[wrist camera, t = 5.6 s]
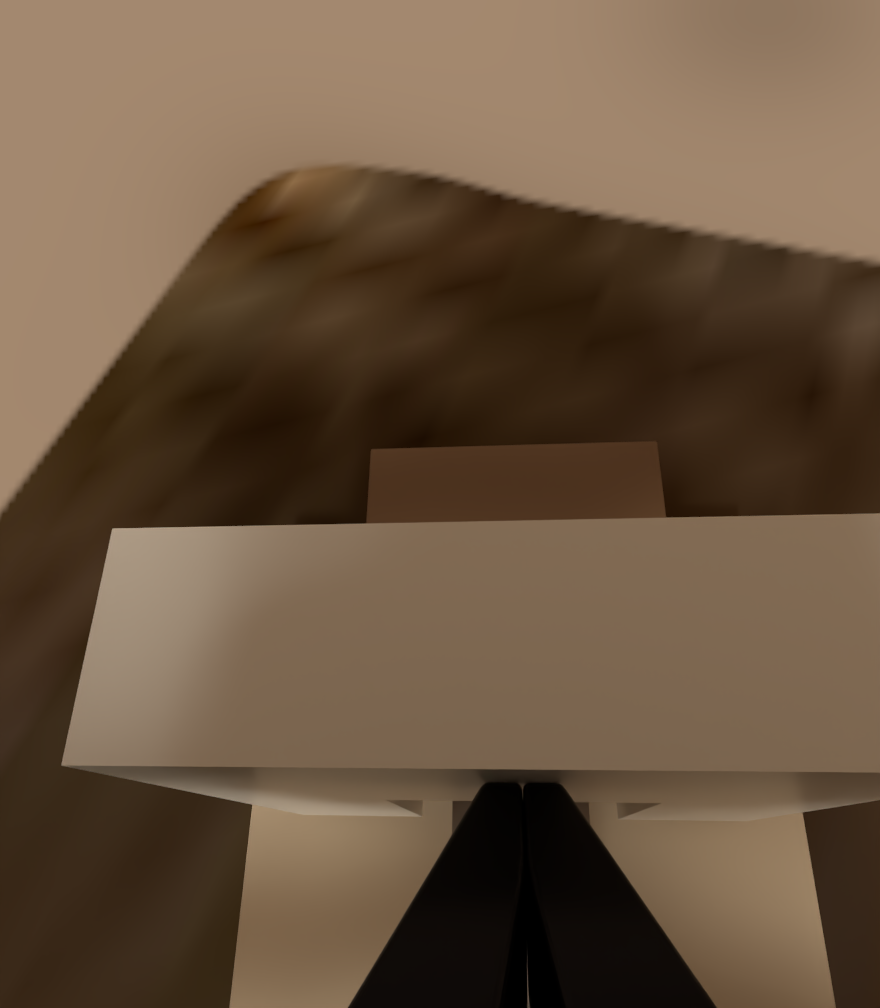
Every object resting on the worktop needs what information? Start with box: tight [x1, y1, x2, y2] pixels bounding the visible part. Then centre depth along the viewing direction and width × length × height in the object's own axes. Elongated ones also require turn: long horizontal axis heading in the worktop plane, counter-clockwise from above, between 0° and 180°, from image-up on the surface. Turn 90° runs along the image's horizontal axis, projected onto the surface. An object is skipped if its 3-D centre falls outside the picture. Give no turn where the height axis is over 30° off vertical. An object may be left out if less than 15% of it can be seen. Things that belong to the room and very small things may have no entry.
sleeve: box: [61, 513, 880, 821], centre depth 11 cm, size 3×9×9 cm, turn 89°
